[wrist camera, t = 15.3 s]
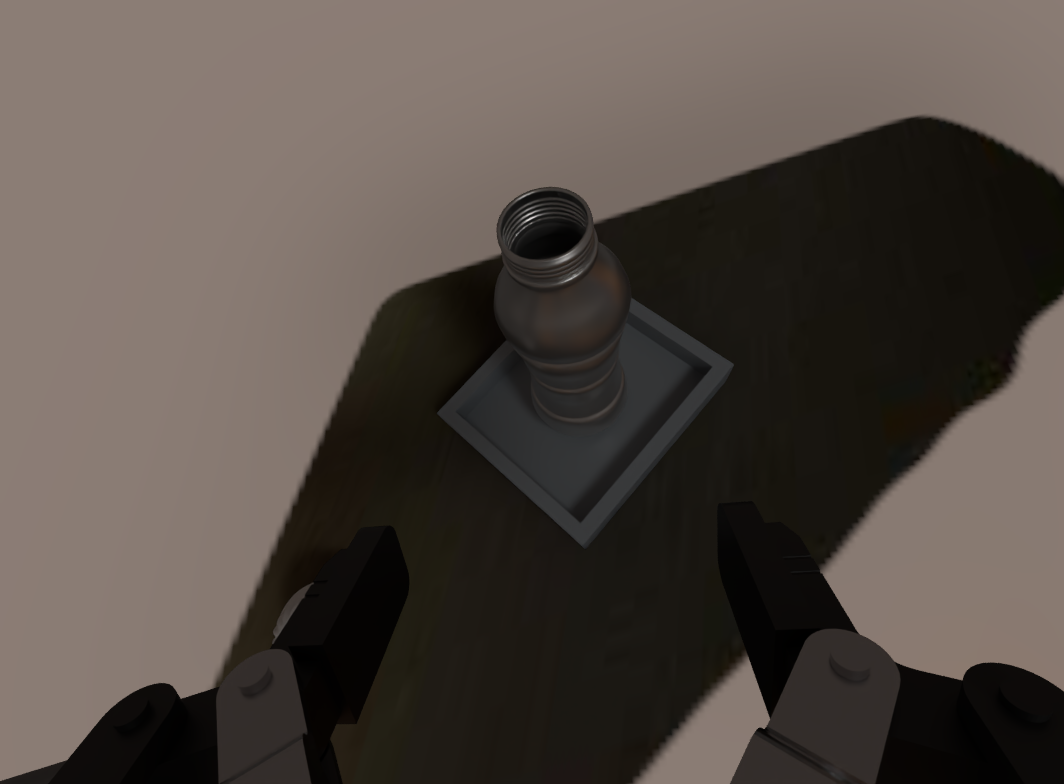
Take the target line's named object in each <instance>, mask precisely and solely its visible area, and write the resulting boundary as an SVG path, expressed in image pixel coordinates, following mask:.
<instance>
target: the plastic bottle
mask: <svg viewBox="0 0 1064 784" xmlns="http://www.w3.org/2000/svg"><path fill="white" fill-rule="evenodd" d="M497 239H498V243H499V246H500V248H501V251H502V253H501V254H502V259H503V263H504V267H503V269H502V270H501V272H500V274H499V276H498V279H497V283H496V286H495V295H494V313H495V319H496V321H497V323H498V326H499V328H500V330H501V331H502V333H503V335H504V336H505V338H506V339H507V341H508V342H509V343H510V345H511V346H512V347H513V348H514V349H515V350H516V352H517V353H518V354H519V355H520V356H521V358H522V359H523V360H524V362H525V364H526V366H527V367H528V369H529V371H530V374H531V396H532V402H533V405H534V408H535V410H536V412H537V414H538V415H539V416H540V418H541V419H542V420H543V421H544V422H545V423H546V424H547V425H549V426H550V427H551V428H553V429H554V430H556V431H558V432H559V433H562V434H565V435H568V436H574V437H585V436H590V435H594V434H597V433H599V432H602V431H603V430H605V429H606V428H608V427H609V426H610V425H611V424H612V423H613V422H614V421H615V420H616V419H617V417H618V416H619V414H620V413H621V411H622V410H623V407H624V405H625V403H626V400H627V394H628V384H627V380H626V376H625V373H624V370H623V367H622V365H621V363H620V360H619V355H618V353H619V345H620V339H621V336H622V333H623V330H624V327H625V324H626V321H627V319H628V314H629V308H630V303H631V286H630V283H629V279H628V276H627V274H626V272H625V270H624V269H623V267H622V265H621V263H620V261H619V260H618V258H617V257H616V256H615V255H614V254H613V252H612V251H611V250H610V249H608V248H607V247H605V246H604V245H603V244H601V243H599V242H598V238H597V234H596V231H595V229H594V225H593V217H592V214H591V211H590V208H589V207H588V205H587V203H586V202H585V201H584V200H583V199H582V198H581V197H580V196H579V195H577V194H576V193H574V192H572V191H570V190H567V189H563V188H558V187H544V188H538V189H534V190H531V191H528V192H526V193H524V194H522V195H520V196H518V197H517V198H515V199H514V200H513V201H511V202H510V203H509V204H508V205H507V206H506V208H505V209H504V210H503V211H502V214H501V215H500V217H499V220H498V223H497Z"/></svg>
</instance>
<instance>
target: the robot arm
mask: <svg viewBox="0 0 1064 784" xmlns="http://www.w3.org/2000/svg"><path fill="white" fill-rule="evenodd" d="M717 522H718V564H719V570H720V575H721V579H722V583H723V586H724V588H725V591H726V594H727V597H728V600H729V603H730V606H731V608H732V611H733V614H734V617H735V620H736V623H737V626H738V628H739V631H740V634H741V637H742V640H743V643H744V646H745V648H746V651H747V654H748V657H749V660H750V662H751V666H752V668H753V671H754V674H755V677H756V680H757V683H758V685H759V688H760V691H761V694H762V697H763V700H764V703H765V705H766V708H767V711H768V714H769V717H770V721H769V723H768V725H767V727H766V728H765V729H763V728H758V729H757V730H756V731H755V733H754V734H753V736H752V738H751V740H750V742H749V744H748V746H747V748H746V750H745V753H744V755H743V757H742V759H741V761H740V763H739V765H738V768H737V770H736V772H735V774H734V776H733V778H732V781H731V783H730V784H1064V691H1062V690H1061V689H1059V688H1058V687H1057V686H1055V685H1054V684H1052V683H1050V682H1049V681H1047V680H1046V679H1044V678H1042V677H1040V676H1038V675H1036V674H1034V673H1032V672H1029V671H1026V670H1024V669H1022V668H1018V667H1015V666H1012V665H1007V664H1002V663H981V664H977V665H975V666H972V667H971V668H969V669H968V670H967V671H966V673H965V675H964V677H963V681H962V680H958V679H954V678H949V677H945V676H941V675H936V674H932V673H927V672H923V671H919V670H915V669H912V668H908V667H906V666H903V665H900V664H898V663H896V662H894V661H893V660H892V658H891V657H890V656H889V654H888V653H887V652H886V651H885V650H884V649H882V648H881V647H880V646H879V645H877V644H876V643H874V642H873V641H871V640H870V639H868V638H866V637H864V636H862V635H860V634H859V633H858V632H857V631H856V629H855V627H854V626H853V624H852V622H851V621H850V619H849V617H848V616H847V614H846V612H845V611H844V609H843V608H842V606H841V604H840V602H839V601H838V599H837V597H836V596H835V594H834V593H833V591H832V589H831V588H830V586H829V584H828V583H827V581H826V579H825V578H824V576H823V574H822V573H820V569H819V568H818V566H817V564H816V563H815V561H814V559H813V558H811V554H810V553H809V551H808V549H807V548H806V546H805V544H804V543H803V541H802V540H801V538H800V537H799V536H798V535H797V534H796V533H794V532H793V531H792V530H790V529H789V528H788V527H787V526H785V525H784V524H783V523H781V522H774V523H765V522H764V521H763V519H762V517H761V515H760V513H759V511H758V509H757V507H756V505H755V504H754V503H753V502H752V501H748V502H733V503H719V504H718V510H717ZM408 591H409V573H408V569H407V566H406V563H405V560H404V557H403V554H402V550H401V547H400V544H399V541H398V538H397V535H396V532H395V530H394V528H393V527H392V526H378V527H364V528H361V529H360V530H359V531H358V532H357V534H356V535H355V537H354V539H353V540H352V542H351V544H350V545H349V547H348V549H341V550H340V551H339V552H338V553H337V554H335V555H334V556H333V557H332V558H331V559H330V560H329V561H327V562H326V563H325V564H324V566H323V567H322V569H321V570H320V572H319V573H318V575H317V576H316V578H315V580H314V584H311V586H310V587H309V589H308V590H307V592H306V594H305V598H302V600H301V601H300V603H299V604H298V606H297V608H296V609H295V611H294V612H293V614H292V615H291V617H290V618H289V620H288V622H287V623H286V625H285V626H284V628H283V629H282V631H281V632H280V634H279V635H278V637H277V639H276V640H275V642H274V643H273V645H272V646H271V648H270V649H269V650H266V651H262V652H259V653H257V654H255V655H253V656H251V657H249V658H247V659H246V660H244V661H243V662H242V663H240V664H239V665H238V666H237V667H235V668H234V669H233V670H232V671H231V672H230V673H229V674H228V676H227V677H226V678H225V679H224V681H223V682H222V684H221V686H220V687H217V688H214V689H211V690H208V691H204V692H201V693H198V694H195V695H192V696H189V697H186V698H182V699H180V697H179V695H178V694H177V692H176V690H175V689H174V688H173V686H171V685H170V684H166V683H158V684H153V685H149V686H146V687H144V688H141V689H139V690H137V691H135V692H133V693H132V694H130V695H128V696H127V697H125V698H124V699H122V700H121V701H120V702H118V703H117V704H116V705H115V706H113V707H112V708H111V709H110V710H109V711H108V712H107V713H106V714H105V715H104V716H103V717H102V718H101V720H100V721H99V722H98V723H97V724H96V726H95V727H94V728H93V729H92V730H91V732H90V733H89V734H88V735H87V737H86V738H85V739H84V740H83V742H82V743H81V744H80V745H79V747H78V748H77V749H76V750H75V751H74V753H73V754H72V755H71V756H70V758H69V759H68V760H67V761H63V762H60V763H57V764H54V765H51V766H48V767H44V768H41V769H38V770H34V771H31V772H28V773H25V774H22V775H18V776H15V777H12V778H9V779H6V780H2V781H0V784H343V783H342V779H341V775H340V771H339V767H338V763H337V759H336V755H335V751H334V747H333V745H332V742H331V740H330V737H331V735H332V733H333V731H334V728H335V726H336V724H357V721H358V719H359V716H360V714H361V711H362V709H363V706H364V704H365V701H366V699H367V696H368V694H369V691H370V689H371V686H372V684H373V681H374V679H375V676H376V674H377V671H378V669H379V666H380V664H381V661H382V659H383V656H384V654H385V651H386V649H387V646H388V644H389V641H390V639H391V636H392V634H393V631H394V629H395V626H396V624H397V621H398V619H399V616H400V614H401V611H402V609H403V606H404V604H405V601H406V599H407V596H408Z"/></svg>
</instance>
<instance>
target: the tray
mask: <svg viewBox="0 0 1064 784" xmlns="http://www.w3.org/2000/svg"><path fill="white" fill-rule="evenodd" d="M618 355H619V360H620V363H621V365H622V367H623V370H624V373H625V376H626V380H627V384H628V394H627V400H626V403H625V405H624V407H623V410H622V411H621V413H620V414H619V416H618V417H617V419H616V420H615V421H614V422H613V423H612V424H611V425H610V426H609V427H608V428H606V429H605V430H603V431H602V432H599V433H597V434H594V435H590V436H585V437H574V436H568V435H565V434H562V433H559V432H558V431H556V430H554V429H553V428H551V427H550V426H549V425H547V424H546V423H545V422H544V421H543V420H542V419H541V418H540V416H539V415H538V414H537V412H536V410H535V408H534V405H533V402H532V396H531V374H530V371H529V369H528V367H527V366H526V364H525V362H524V360H523V359H522V358H521V356H520V355H519V354H518V353H517V352H516V350H515V349H514V348H513V347H512V346H511V345H510V343H509V342H508V341H507V340H506V341H505V342H504V343H503V344H502V345H501V346H500V347H499V348H498V349H497V350H496V351H495V352H494V354H493V355H492V356H491V357H490V358H489V359H488V360H487V361H486V362H485V363H484V364H483V365H482V366H481V367H480V368H479V369H478V370H477V371H476V372H475V374H474V375H473V376H472V377H471V378H470V379H469V380H468V381H467V382H466V383H465V384H464V385H463V386H462V387H461V388H460V389H459V390H458V391H457V393H456V394H455V395H454V396H453V397H452V398H451V399H450V400H449V401H448V402H447V403H446V404H445V405H444V406H443V407H442V408H441V409H440V410H439V411H438V413H437V414H438V415H439V416H440V417H441V418H442V419H443V420H444V421H445V422H446V423H447V424H449V425H450V426H451V427H452V428H453V429H454V430H455V431H456V432H457V433H458V434H459V435H461V436H462V437H463V438H464V439H465V440H466V441H467V442H468V443H469V444H470V445H472V446H473V447H474V448H475V449H476V450H477V451H478V452H479V453H480V454H481V455H483V456H484V457H485V458H486V459H487V460H488V461H489V462H490V463H491V464H492V465H493V466H495V467H496V468H497V469H498V470H499V471H500V472H501V473H502V474H503V475H504V476H506V477H507V478H508V479H509V480H510V481H511V482H512V483H513V484H514V485H515V486H517V487H518V488H519V489H520V490H521V491H522V492H523V493H524V494H525V495H526V496H528V497H529V498H530V499H531V500H532V501H533V502H534V503H535V504H536V505H537V506H538V507H540V508H541V509H542V510H543V511H544V512H545V513H546V514H547V515H548V516H549V517H551V518H552V519H553V520H554V521H555V522H556V523H557V524H558V525H559V526H560V527H562V528H563V529H564V530H565V531H566V532H567V533H568V534H569V535H570V536H571V537H573V538H574V539H575V540H576V541H577V542H578V543H579V544H580V545H581V546H582V547H583V548H585V549H586V548H587V547H588V546H589V545H590V543H591V542H592V541H593V540H594V539H595V537H596V536H597V535H598V534H599V533H600V531H601V530H602V529H603V528H604V527H605V525H606V524H607V523H608V522H609V521H610V519H611V518H612V517H613V516H614V515H615V513H616V512H617V511H618V510H619V509H620V507H621V506H622V505H623V504H624V503H625V501H626V500H627V499H628V498H629V497H630V495H631V494H632V493H633V492H634V491H635V489H636V488H637V487H638V486H639V485H640V483H641V482H642V481H643V480H644V479H645V477H646V476H647V475H648V474H649V473H650V471H651V470H652V469H653V468H654V467H655V465H656V464H657V463H658V462H659V461H660V459H661V458H662V457H663V456H664V455H665V453H666V452H667V451H668V450H669V449H670V447H671V446H672V445H673V444H674V443H675V441H676V440H677V439H678V438H679V437H680V435H681V434H682V433H683V432H684V431H685V429H686V428H687V427H688V426H689V425H690V423H691V422H692V421H693V420H694V419H695V417H696V416H697V415H698V414H699V413H700V411H701V410H702V409H703V408H704V407H705V405H706V404H707V403H708V402H709V401H710V399H711V398H712V397H713V396H714V395H715V393H716V392H717V391H718V390H719V389H720V387H721V386H722V385H723V384H724V383H725V381H726V380H727V378H728V376H729V374H730V372H731V370H732V368H733V366H734V364H732V363H731V362H729V361H728V360H726V359H725V358H723V357H722V356H720V355H719V354H717V353H715V352H714V351H712V350H711V349H709V348H708V347H706V346H705V345H703V344H702V343H700V342H699V341H697V340H695V339H694V338H692V337H691V336H689V335H688V334H686V333H685V332H683V331H682V330H680V329H679V328H677V327H675V326H674V325H672V324H671V323H669V322H668V321H666V320H665V319H663V318H662V317H660V316H658V315H657V314H655V313H654V312H652V311H651V310H649V309H648V308H646V307H645V306H643V305H642V304H640V303H638V302H637V301H635V300H634V299H632V298H631V303H630V308H629V314H628V319H627V321H626V324H625V327H624V330H623V333H622V336H621V339H620V345H619V353H618Z"/></svg>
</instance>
